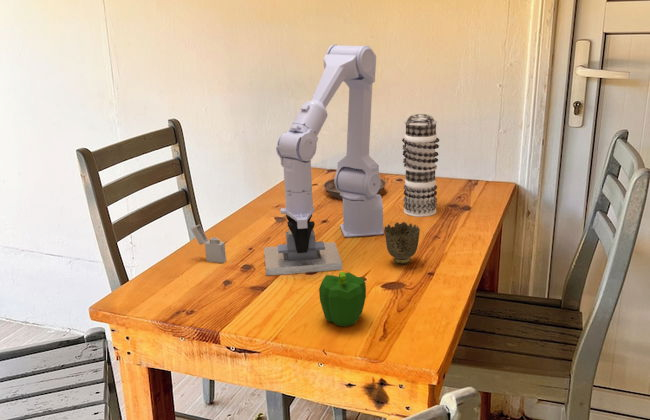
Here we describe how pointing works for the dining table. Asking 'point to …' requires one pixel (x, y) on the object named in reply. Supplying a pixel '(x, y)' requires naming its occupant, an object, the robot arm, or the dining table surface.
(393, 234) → the cup
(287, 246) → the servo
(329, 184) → the plant saucer
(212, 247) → the lighter
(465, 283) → the dining table surface
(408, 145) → the decorative candle
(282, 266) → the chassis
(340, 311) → the bell pepper
